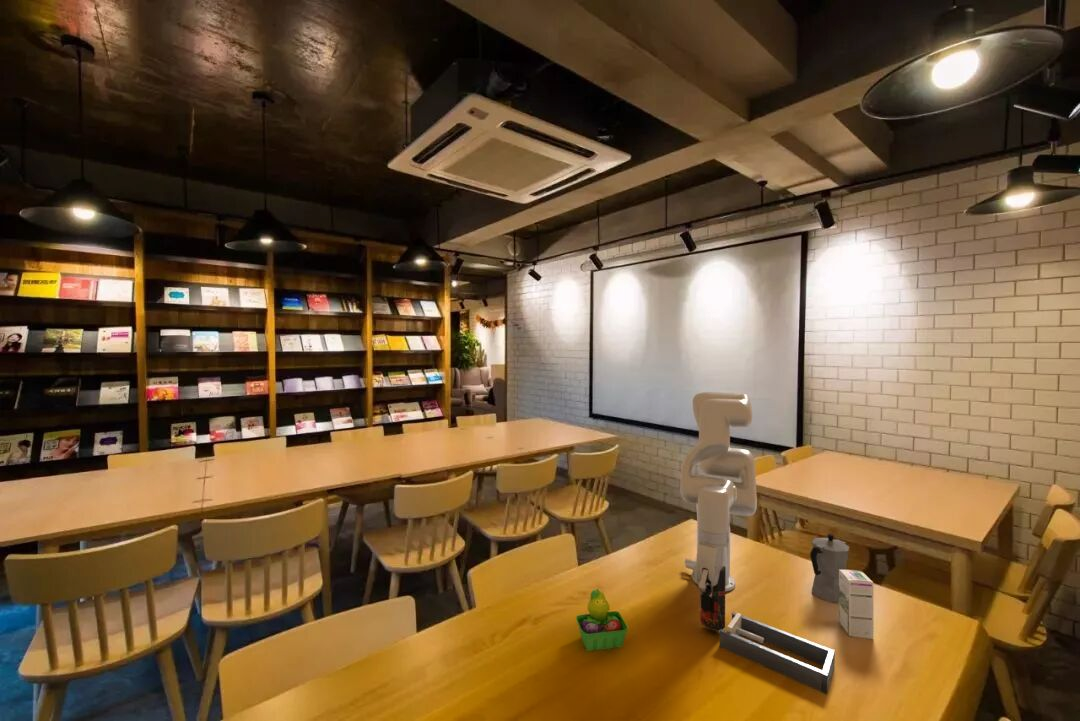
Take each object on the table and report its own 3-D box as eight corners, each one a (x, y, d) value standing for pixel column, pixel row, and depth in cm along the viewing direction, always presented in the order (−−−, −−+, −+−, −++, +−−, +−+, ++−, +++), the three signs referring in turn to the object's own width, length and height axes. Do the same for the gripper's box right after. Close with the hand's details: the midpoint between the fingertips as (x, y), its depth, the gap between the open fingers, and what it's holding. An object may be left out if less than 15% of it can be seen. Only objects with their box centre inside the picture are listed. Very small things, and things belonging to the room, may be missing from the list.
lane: (719, 646, 106) (719, 630, 106) (733, 627, 113) (733, 611, 113) (826, 694, 91) (827, 675, 91) (834, 667, 99) (834, 650, 99)
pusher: (727, 644, 106) (727, 626, 106) (737, 629, 111) (737, 612, 111) (758, 658, 101) (758, 639, 101) (767, 642, 107) (767, 623, 107)
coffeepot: (827, 581, 135) (827, 524, 135) (860, 597, 127) (861, 536, 126) (795, 594, 128) (795, 533, 128) (828, 611, 120) (828, 547, 119)
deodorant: (696, 616, 115) (696, 560, 114) (718, 615, 115) (718, 559, 115) (706, 631, 109) (707, 572, 108) (729, 629, 109) (730, 571, 109)
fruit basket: (583, 655, 103) (583, 608, 103) (574, 631, 112) (574, 588, 112) (629, 650, 105) (629, 604, 105) (616, 627, 114) (617, 584, 113)
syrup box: (874, 639, 108) (875, 582, 108) (847, 636, 109) (848, 579, 109) (862, 625, 114) (863, 570, 113) (837, 622, 115) (838, 568, 115)
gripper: (710, 521, 120) (710, 585, 121) (684, 542, 107) (684, 614, 108) (739, 528, 115) (738, 595, 116) (715, 551, 102) (715, 626, 103)
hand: (712, 603), depth 112 cm, fingers closed on deodorant, 5 cm apart
